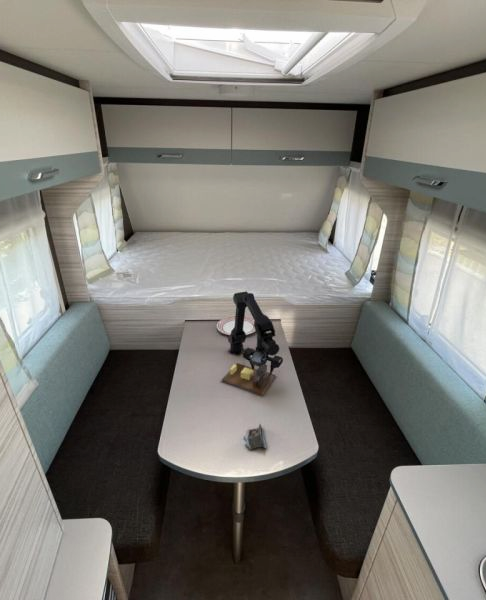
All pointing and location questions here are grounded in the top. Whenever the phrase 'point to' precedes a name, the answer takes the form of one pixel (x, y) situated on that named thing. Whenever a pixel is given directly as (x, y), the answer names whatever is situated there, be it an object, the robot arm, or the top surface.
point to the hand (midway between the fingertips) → (261, 372)
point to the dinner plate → (229, 323)
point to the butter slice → (233, 369)
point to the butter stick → (247, 373)
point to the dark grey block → (261, 372)
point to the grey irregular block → (255, 438)
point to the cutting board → (250, 384)
